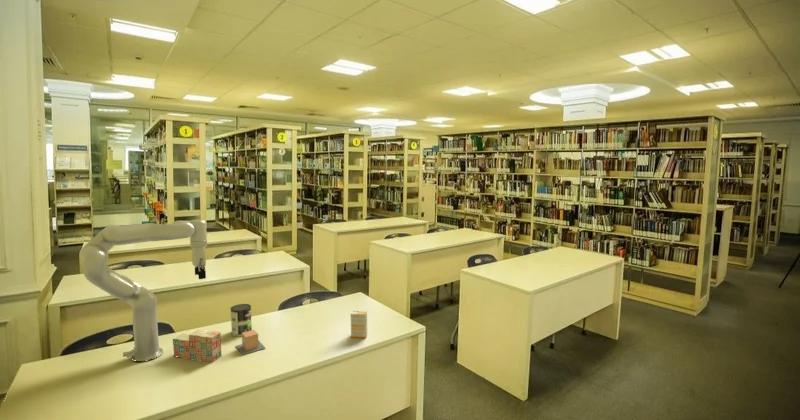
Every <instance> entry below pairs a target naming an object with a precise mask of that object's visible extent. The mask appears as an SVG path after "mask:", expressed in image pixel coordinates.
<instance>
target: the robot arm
mask: <svg viewBox="0 0 800 420" xmlns="http://www.w3.org/2000/svg"><path fill="white" fill-rule="evenodd" d="M207 235H208V234H207V221H206V220H205V219H192V220H175V221H173V222H172V223H170V224H169V223H168V224H166V223H164V224H160V223H151V222H150V223H148V222H147V223H139V224H129V225H119V224H118V225H117V224H110V225H108V226H105V228H103V229H101V230H100V231H99V232H98V233H97V234H96V235H95V236H94V237H92V238H91V239H90V240H89V241H87V243H86V244H85V245H84V246H82V248H81V249H80V251H79V259H80V260H81V262H83V263H82V272H83V275H84V277H85V280H87V281H88V282H89V283H90V284H92V285H94V286H95V287H97V288H99V289H100V290H101V291H104V292H105V293H107V294H108V295H110V296H111V297H112V298H115V299H117V300H121V301H122V302H123V303H126V304H127V305H128V306H131V308H132V330H133V341H134V344H133V345H134V347H133V349H131V350H129V351H124V352H122V357H125V358H132V359H133V360H136V361H145V362H147V361H146V360H149V361H151V360H150V359H153V358H155V357H157V356H159V355H161V354H162V353H163V354H164V349H163V348H162V347H160V345H159V343H160V342H159V341H160V340H159V327H158V326H159V325H158V297H157V296H156V295H155V293H153V292H152V291H151V290H149V289H147V288H146V287H144V286H142V285H141V284H139V283H137V282H136V281H134V280H132V279H131V278H129V277H128V276H126V275H123V274H120V273H118V272H116V271H115V270H113V268H112V269H111V268H110V267H109V264H108V263H109V251H110V250H111V249H112V248H114V246H124V245H133V244H139V243H147V242H160V241H173V240H174V241H175V240H180V239H181V240H182V239H187V238H189V240H190V242H189V243H190V244H189V245H190V246H189V247H190V248H191V255H192V256H191V258H192V259H191V260H192V261H191V262H192V263H191V265H192V266H194V275H195V276H198V280H204V279H207V275H206V272H207V271H206V265H207V264H206V263H207V262H206V261H207V258H206V247H208V239H207V238H208V236H207ZM163 354H162V355H163ZM162 355H161V356H162ZM159 357H160V356H159ZM157 358H158V357H157ZM132 359H131V360H132ZM155 359H156V358H155ZM153 360H154V359H153Z"/></svg>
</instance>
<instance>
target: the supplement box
mask: <svg viewBox="0 0 800 420" xmlns="http://www.w3.org/2000/svg"><path fill="white" fill-rule="evenodd" d="M367 336H368V311H366V310H365V311H364V310H352V311H351V312H350V338H362V339H367Z"/></svg>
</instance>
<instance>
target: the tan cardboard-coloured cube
mask: <svg viewBox="0 0 800 420" xmlns="http://www.w3.org/2000/svg"><path fill="white" fill-rule="evenodd" d="M258 340H259V333H258V332H257V331H256V330H255V329H252V330H251V331H247V332H243V333H242V336H241V341H242V342H241V344H242V346H243V348H244V349H245V350H246V351H247V350H251V349H254V348H258V347H259V345H258Z"/></svg>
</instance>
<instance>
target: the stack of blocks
mask: <svg viewBox="0 0 800 420" xmlns="http://www.w3.org/2000/svg"><path fill="white" fill-rule="evenodd" d="M221 333H222V332H221V331H215V330H209V329H208V330H207V329H206V330H205V329H197V330H195V331H193V332H192V333H180V334H178V335H177V336H175V337H173V338H172V345H173V357H174V356H178V357H182V358H181V359H184V358H187V359H186V360H191V359H194V360H193V361H198V360H201V361H200V362H205V361H206V362H205V363H215V362H216V361H217V360H218V359H220V358H221V357H222V338H221V337H222V334H221ZM178 357H177V358H178Z"/></svg>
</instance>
